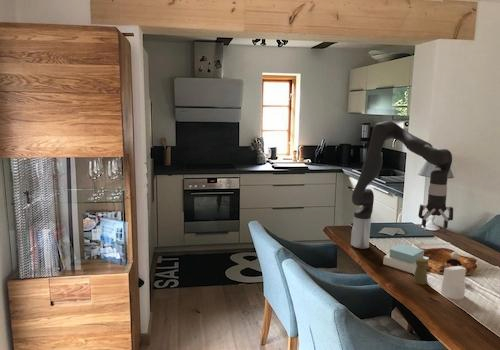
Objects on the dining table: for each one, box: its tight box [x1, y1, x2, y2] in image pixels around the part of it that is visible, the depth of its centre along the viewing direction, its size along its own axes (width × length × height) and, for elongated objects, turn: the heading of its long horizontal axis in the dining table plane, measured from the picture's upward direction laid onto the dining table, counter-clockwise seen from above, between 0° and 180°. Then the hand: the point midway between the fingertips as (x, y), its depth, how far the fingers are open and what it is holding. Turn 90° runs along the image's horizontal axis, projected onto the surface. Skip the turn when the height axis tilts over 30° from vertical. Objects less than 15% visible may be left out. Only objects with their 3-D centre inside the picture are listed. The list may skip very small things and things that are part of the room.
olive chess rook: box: [412, 258, 429, 286], centre depth 186 cm, size 6×6×11 cm
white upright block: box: [440, 265, 467, 300], centre depth 173 cm, size 9×9×12 cm
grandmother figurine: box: [443, 251, 463, 267], centre depth 190 cm, size 8×4×13 cm, turn 71°
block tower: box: [382, 243, 430, 275], centre depth 205 cm, size 16×16×8 cm
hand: (434, 227), depth 186 cm, fingers open, 8 cm apart
